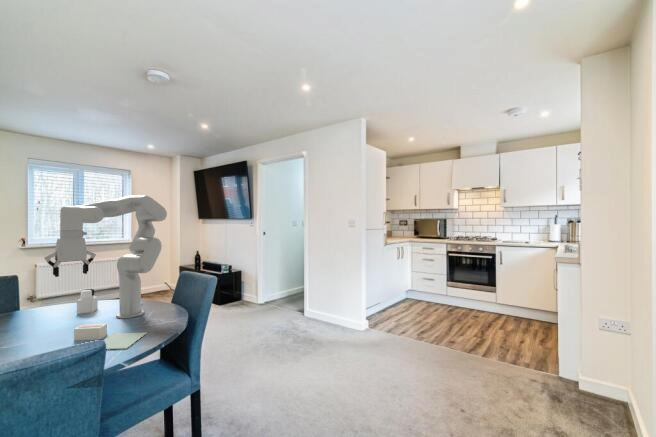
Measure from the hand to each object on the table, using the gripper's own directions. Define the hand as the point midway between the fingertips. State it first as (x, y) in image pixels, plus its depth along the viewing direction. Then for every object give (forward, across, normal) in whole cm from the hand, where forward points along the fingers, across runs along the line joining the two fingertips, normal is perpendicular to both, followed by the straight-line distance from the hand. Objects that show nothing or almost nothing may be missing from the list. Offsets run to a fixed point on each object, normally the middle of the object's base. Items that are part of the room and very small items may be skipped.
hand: (71, 275), depth 134 cm
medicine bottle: (+26, -17, -40) cm, 51 cm away
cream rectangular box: (+27, -5, +7) cm, 28 cm away
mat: (+27, -11, +22) cm, 36 cm away
